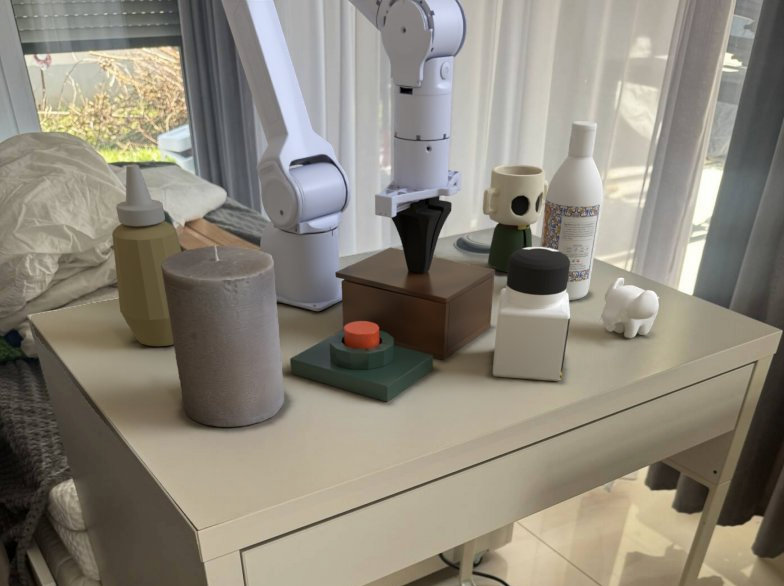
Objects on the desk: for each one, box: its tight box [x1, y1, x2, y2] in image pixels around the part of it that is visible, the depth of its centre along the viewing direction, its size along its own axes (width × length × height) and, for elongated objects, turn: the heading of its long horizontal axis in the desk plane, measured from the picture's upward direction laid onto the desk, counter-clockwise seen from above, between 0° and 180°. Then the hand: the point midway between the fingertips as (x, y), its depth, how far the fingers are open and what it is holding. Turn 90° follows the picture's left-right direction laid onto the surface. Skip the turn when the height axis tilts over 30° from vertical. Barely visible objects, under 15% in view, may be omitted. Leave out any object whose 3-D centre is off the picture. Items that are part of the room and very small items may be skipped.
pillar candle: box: [161, 244, 285, 428], centre depth 70 cm, size 10×10×15 cm
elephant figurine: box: [598, 277, 660, 339], centre depth 89 cm, size 7×8×6 cm
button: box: [344, 321, 379, 349], centre depth 79 cm, size 4×4×2 cm
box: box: [340, 275, 495, 361], centre depth 89 cm, size 13×11×6 cm
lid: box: [335, 246, 496, 304], centre depth 87 cm, size 14×11×1 cm
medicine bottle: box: [492, 246, 571, 382], centre depth 80 cm, size 7×7×12 cm
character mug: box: [482, 164, 549, 273], centre depth 106 cm, size 11×7×13 cm, turn 123°
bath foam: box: [539, 120, 604, 301], centre depth 96 cm, size 7×7×20 cm
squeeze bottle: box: [111, 163, 183, 347], centre depth 82 cm, size 8×8×18 cm
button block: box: [289, 330, 434, 403], centre depth 80 cm, size 12×9×4 cm
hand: (418, 270), depth 87 cm, fingers closed
